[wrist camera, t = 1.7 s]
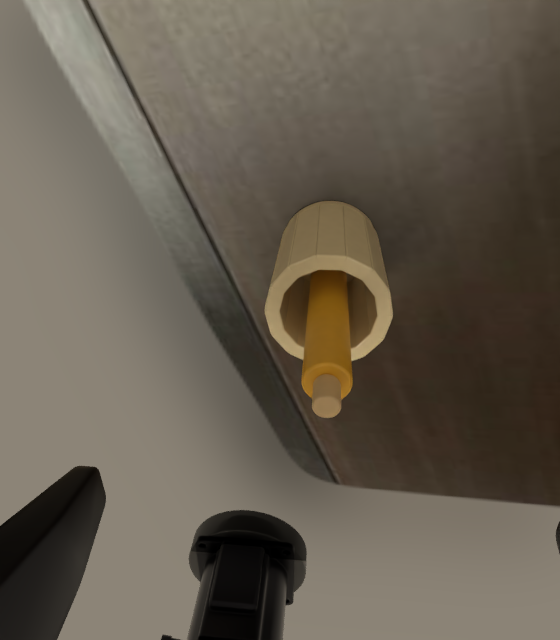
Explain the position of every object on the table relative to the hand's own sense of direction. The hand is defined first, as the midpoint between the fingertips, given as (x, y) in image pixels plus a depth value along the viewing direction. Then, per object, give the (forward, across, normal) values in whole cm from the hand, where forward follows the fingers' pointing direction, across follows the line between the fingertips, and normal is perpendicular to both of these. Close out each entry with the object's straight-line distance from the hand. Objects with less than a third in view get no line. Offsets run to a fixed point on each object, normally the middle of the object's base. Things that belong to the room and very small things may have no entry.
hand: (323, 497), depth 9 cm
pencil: (+12, 0, 0) cm, 12 cm away
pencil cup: (+13, 0, 0) cm, 13 cm away
